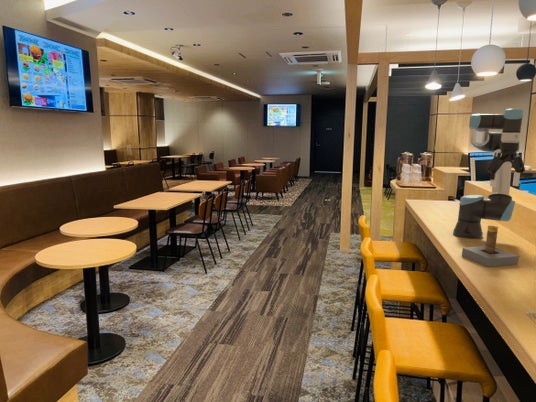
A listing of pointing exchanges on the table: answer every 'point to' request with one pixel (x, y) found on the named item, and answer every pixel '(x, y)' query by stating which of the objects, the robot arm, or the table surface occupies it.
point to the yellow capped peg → (491, 239)
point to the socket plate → (490, 257)
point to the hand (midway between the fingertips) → (504, 186)
